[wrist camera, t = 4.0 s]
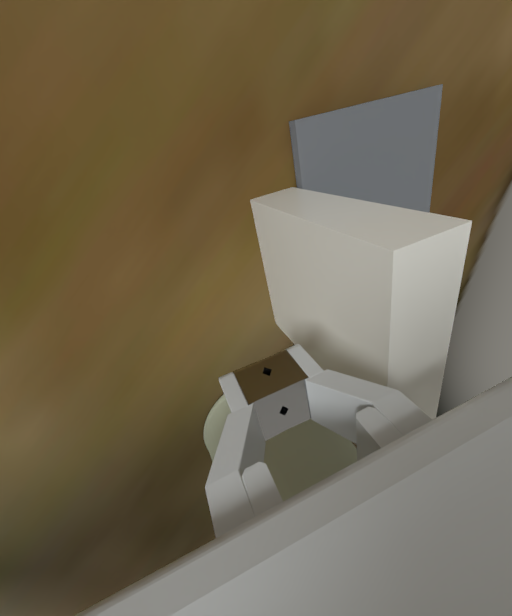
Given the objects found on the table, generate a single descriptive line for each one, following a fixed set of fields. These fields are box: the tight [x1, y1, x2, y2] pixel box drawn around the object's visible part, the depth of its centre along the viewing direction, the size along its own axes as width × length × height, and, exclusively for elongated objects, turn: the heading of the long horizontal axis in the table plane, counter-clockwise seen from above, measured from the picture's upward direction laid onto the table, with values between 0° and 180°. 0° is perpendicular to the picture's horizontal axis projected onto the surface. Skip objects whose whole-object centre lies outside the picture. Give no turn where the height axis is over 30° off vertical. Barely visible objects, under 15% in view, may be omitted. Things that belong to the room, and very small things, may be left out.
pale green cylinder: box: [204, 394, 357, 501], centre depth 18 cm, size 9×9×12 cm
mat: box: [289, 84, 443, 213], centre depth 19 cm, size 9×14×1 cm, turn 13°
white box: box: [250, 187, 472, 420], centre depth 14 cm, size 3×8×10 cm, turn 13°
